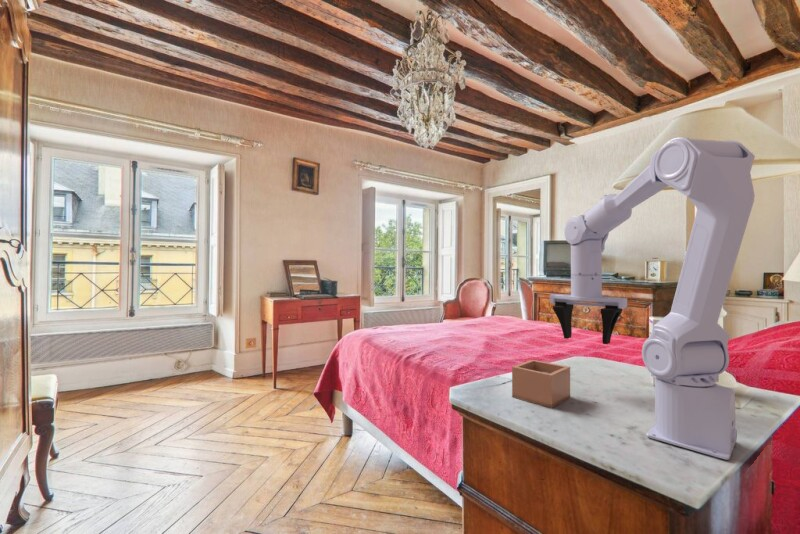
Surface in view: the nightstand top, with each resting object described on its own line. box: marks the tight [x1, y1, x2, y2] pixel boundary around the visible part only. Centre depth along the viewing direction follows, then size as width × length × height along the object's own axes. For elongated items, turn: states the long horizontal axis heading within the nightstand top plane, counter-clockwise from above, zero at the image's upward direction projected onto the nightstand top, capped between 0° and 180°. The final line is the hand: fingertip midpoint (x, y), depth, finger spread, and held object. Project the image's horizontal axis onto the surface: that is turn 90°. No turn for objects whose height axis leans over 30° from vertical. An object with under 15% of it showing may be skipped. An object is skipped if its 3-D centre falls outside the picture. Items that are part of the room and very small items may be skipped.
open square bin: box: [511, 359, 571, 409], centre depth 74 cm, size 8×8×6 cm
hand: (586, 340), depth 77 cm, fingers open, 7 cm apart
